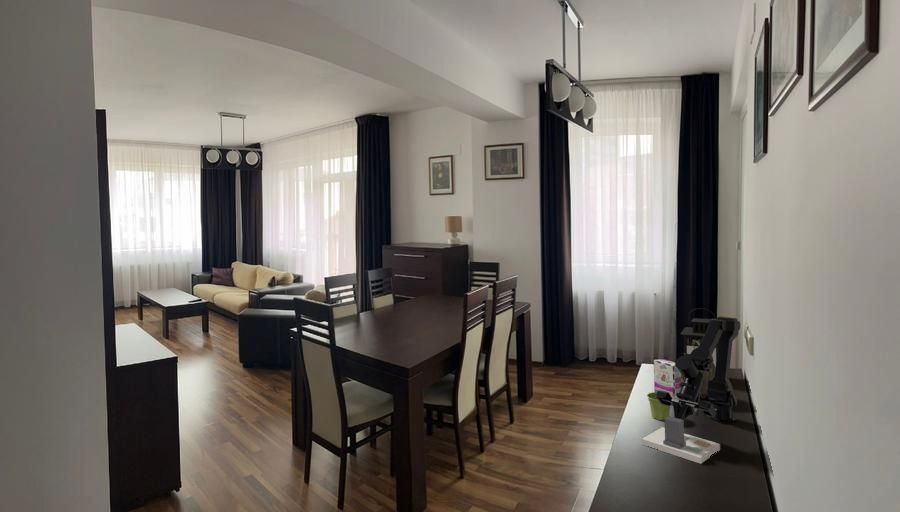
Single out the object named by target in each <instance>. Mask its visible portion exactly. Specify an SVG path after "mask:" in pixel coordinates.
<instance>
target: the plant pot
mask: <svg viewBox="0 0 900 512" xmlns="http://www.w3.org/2000/svg"><path fill="white" fill-rule="evenodd" d="M656 393H657V392H655V391H653V392H649V393H647V394H646V397H647V398H648V402H649V408H650V412H651V418H653V419H656V420H658V421H665V418H667V417H668V416H670V410H671V406H666V405H662V404H661V403H660V402H659V401H658V399H657V398H656V397H655V395H656ZM671 396H672V395H671ZM672 397H673V396H672Z"/></svg>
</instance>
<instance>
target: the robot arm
mask: <svg viewBox="0 0 900 512" xmlns="http://www.w3.org/2000/svg"><path fill="white" fill-rule="evenodd" d="M711 319H712V320H710V321H709V327H708V326H707V328H708V329H707V331H706V333H705V335H704V337H703V339H702V341H701V343H700V345H699V347H697V348H696V349H694V350H693V351H692V352H691V354H686V353H685V354H684V353H683V354H684V355H681V356H679V357H678V358H677V359H675V361H674V362H675V365H676V367H677V369H678V370H679V372H680V373H681V375H682V376H683V377H685V378H684V380H683V383H682V382H681V383H680V386H681V388H680V391H679V393H678V392H677V393H676V396H677V397H672V396H671V395H670V394H669V392H665V391H660V390H659V391H657V393H656V395H655V397H656V398H657V399H658V401H659V402H660V403H661V404H662V405H666V406H670V407H671V406H672V408H673V415H674V418H678V419H681V420H684V421H685V420H686V419H687V418H688V417H689V416H692V415H694V416H696V417H698V416H699V414H700V413H701V412H703V414H704V416H707V417H709V418H710V419H712V420H715V421H716V422H718V423H721V424H727V423H731V422H737V419H736V418H734V417H733V408H737V405H738V398H737V397H736V395H735V393H734V392H733V389H734V388H733V385H732V383H731V381H730V378H729V377H730V369H731V359H732V350H733V341H734V340H735V339H736V338H737V337H738V336H739V333H740V332H739V331H740V330H741V322H740V321H739V320H738V318H736V317H728V316H718V317H717V318H716V319H715V318H711ZM717 343H718V348H717V357H716V367H715V376H714V378H713V379H712V380H709V382H708V388H707V393H706V396H707V397H706V398H707V400H703V399H700V398H699V397H701V395H700V393H699V391H700V388H701V385H702V382H705V378H704V375H703V374H702V372H701V371H706V372H707V371H710V369H712V367H713V361H714V360H713V357H712V354H713V351H714V349H715V347H716V345H717ZM699 370H700V371H699Z"/></svg>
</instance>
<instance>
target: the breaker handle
mask: <svg viewBox="0 0 900 512" xmlns="http://www.w3.org/2000/svg"><path fill="white" fill-rule="evenodd" d="M684 422H685V420H681V419H678V418H675V417H673V416H670V415H669V416H668V417H667V418H665V420H664V428H665V440H664V441H663V444H666V445H669V446H672V447H676V448H679V449H680V448H682V447H683V446H685V445H686V442H685V441H684V434H685V427H684V425H685V424H684Z"/></svg>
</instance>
